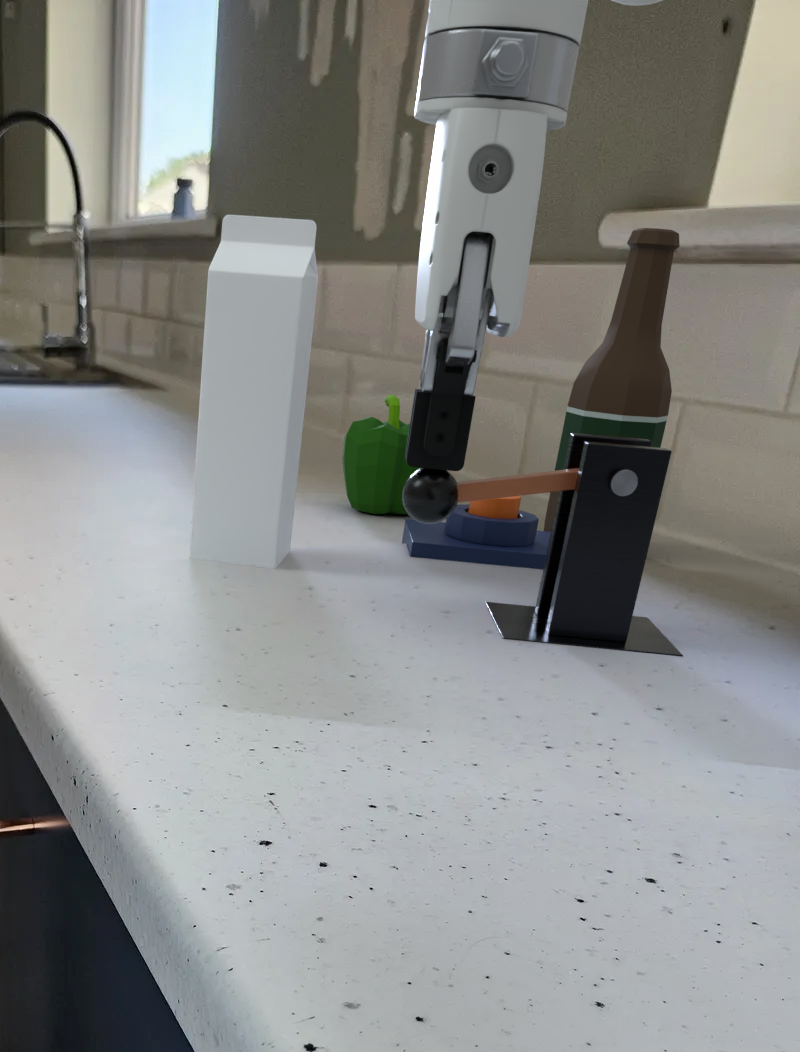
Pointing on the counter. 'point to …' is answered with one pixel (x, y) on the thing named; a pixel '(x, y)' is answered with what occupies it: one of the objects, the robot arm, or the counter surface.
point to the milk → (253, 389)
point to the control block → (479, 539)
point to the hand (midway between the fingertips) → (433, 466)
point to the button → (496, 507)
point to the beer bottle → (627, 357)
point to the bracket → (597, 552)
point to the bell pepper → (377, 462)
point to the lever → (473, 490)
